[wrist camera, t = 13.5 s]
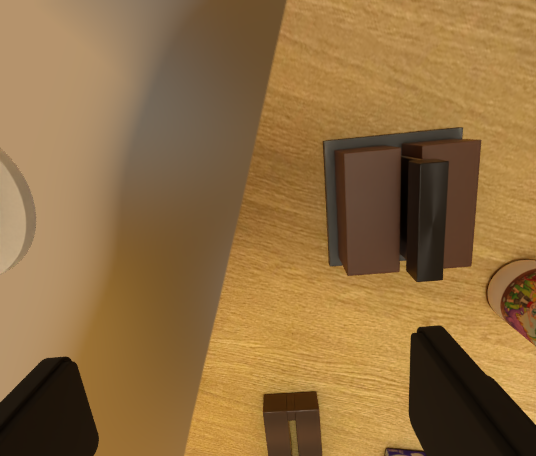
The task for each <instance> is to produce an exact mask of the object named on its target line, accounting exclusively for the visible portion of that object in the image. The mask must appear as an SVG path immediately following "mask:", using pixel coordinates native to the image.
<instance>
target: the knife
mask: <svg viewBox="0 0 536 456" xmlns="http://www.w3.org/2000/svg"><path fill="white" fill-rule="evenodd" d="M448 173H449V161H446V160H440V159H425V160H423V159H418V158H413V157H408V156H402V155H401V197H400V255H401V256H402V257H403V258H404V259H405V260H406V261H407V262H406V271H407V272H408V273H409V274H410V275H411V276H412V278H413V279H414V280H415V281H416V282H424V281H438V280H443V264H444V246H445V228H446V209H447V191H448Z"/></svg>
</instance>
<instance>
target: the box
mask: <svg viewBox="0 0 536 456" xmlns="http://www.w3.org/2000/svg"><path fill="white" fill-rule="evenodd" d="M385 456H426V454H425V452H418V451H408V450H399V449H389V448H387V449H386V453H385Z"/></svg>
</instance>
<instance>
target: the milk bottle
mask: <svg viewBox="0 0 536 456" xmlns="http://www.w3.org/2000/svg"><path fill="white" fill-rule="evenodd" d="M487 293H488V296H487V297H488V300H489V304H490V306H491V308H492V309H493V310H494V312H495V313H497V314H498V315H499V316H500V317H501V318H502V319H503V320H505V321H506V322H507V323H508V324H509V325H511V326H512V327H513V328H514V329H515V330H517V331H518V332H519V333H520V334H521V335H523V336H524V337H525V338H526V339H528V340H529V341H530V342H531V343H532V344H534V345H535V346H536V261H535V260H520V261H515V262H512V263H510V264H508V265H506V266H504V267H503V268H501V269H500V270H499V271H498V272H497V273H496V274H495V275H494V276H493V278H492V279H491V281H490V284H489V286H488V291H487Z"/></svg>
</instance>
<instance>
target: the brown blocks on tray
mask: <svg viewBox="0 0 536 456" xmlns="http://www.w3.org/2000/svg"><path fill="white" fill-rule="evenodd" d="M462 134H463V128H450V129H439V130H429V131H419V132H409V133H399V134H389V135H379V136H369V137H358V138H348V139H338V140H328V141H323V149H324V169H325V190H326V210H327V230H328V251H329V265H330V266H342V265H343V267H344V269H345V271H346V273H347V275H348V276H352V275H365V274H378V273H391V272H399V267H400V261H405V259H404V258H403V257H402V256H401V255H400V197H401V155H402V156H408V157H413V158H418V159H423V160H425V159H440V160H446V161H449V173H448V191H447V209H446V228H445V246H444V264H443V269H444V268H456V267H469V266H471V264H472V251H473V239H474V226H475V213H476V201H477V188H478V175H479V163H480V150H481V140H471V139H462Z"/></svg>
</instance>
